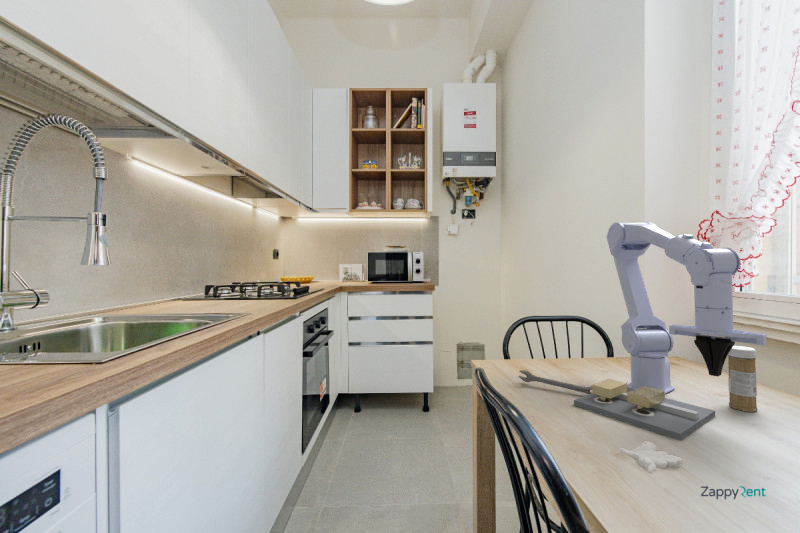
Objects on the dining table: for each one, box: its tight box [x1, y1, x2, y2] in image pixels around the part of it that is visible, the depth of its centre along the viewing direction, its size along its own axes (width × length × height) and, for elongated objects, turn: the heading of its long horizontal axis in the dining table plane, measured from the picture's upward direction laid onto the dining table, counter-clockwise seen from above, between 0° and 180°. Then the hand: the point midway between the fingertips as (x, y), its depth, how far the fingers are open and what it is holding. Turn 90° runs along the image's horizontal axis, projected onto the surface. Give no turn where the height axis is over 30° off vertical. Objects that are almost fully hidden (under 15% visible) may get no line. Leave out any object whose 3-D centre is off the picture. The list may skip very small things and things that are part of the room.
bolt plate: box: [573, 378, 716, 441], centre depth 75 cm, size 18×20×4 cm
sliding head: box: [627, 386, 666, 411], centre depth 74 cm, size 8×4×3 cm, turn 123°
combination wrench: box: [518, 369, 592, 395], centre depth 89 cm, size 4×1×20 cm
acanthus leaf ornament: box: [618, 440, 683, 474], centre depth 57 cm, size 8×7×2 cm
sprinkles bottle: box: [727, 345, 758, 413], centre depth 76 cm, size 5×5×14 cm
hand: (715, 374), depth 70 cm, fingers closed
